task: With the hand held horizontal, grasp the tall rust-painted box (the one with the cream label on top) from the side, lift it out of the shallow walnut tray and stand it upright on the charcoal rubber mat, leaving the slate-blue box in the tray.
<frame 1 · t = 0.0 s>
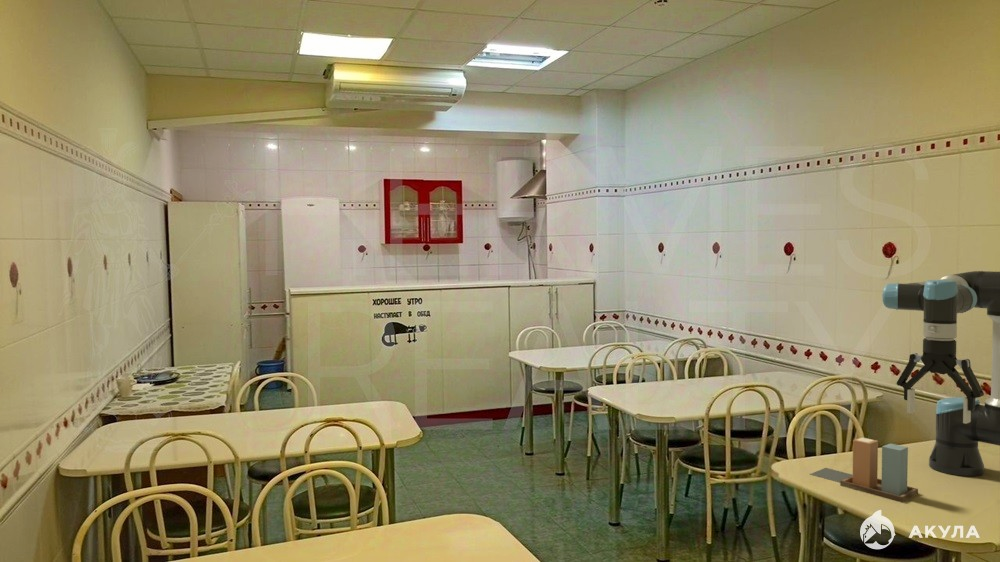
hand: (937, 417, 187), 28 cm above the table, tool pointing down, fingers open, 13 cm apart
rust box: (864, 485, 213), point 1 cm above the table, touching tray
tray: (878, 491, 210), on the table
mat: (832, 476, 223), on the table
slate box: (894, 493, 206), point 1 cm above the table, touching tray
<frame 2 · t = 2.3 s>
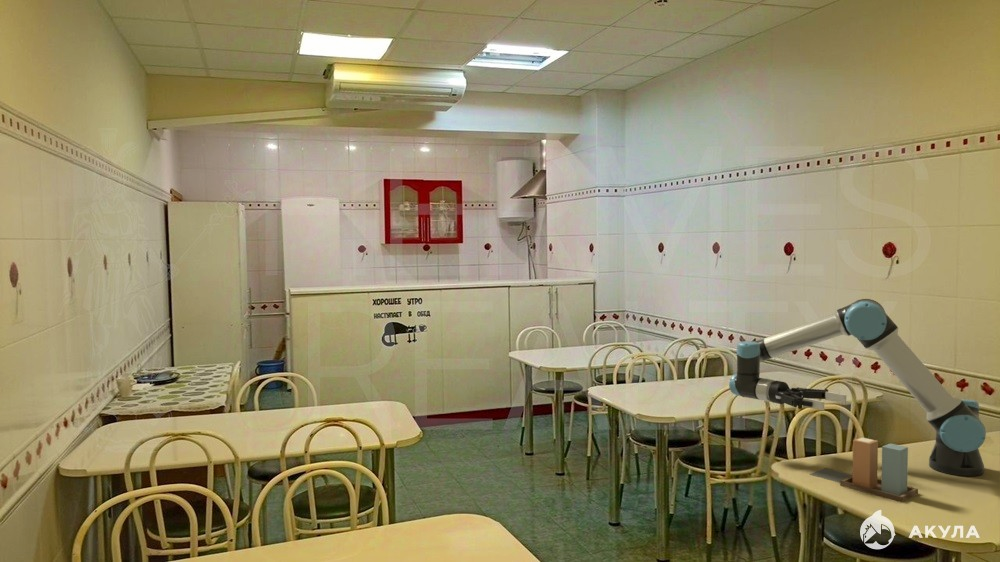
hand: (835, 402, 221), 24 cm above the table, tool horizontal, fingers open, 13 cm apart
nothing on the table moved.
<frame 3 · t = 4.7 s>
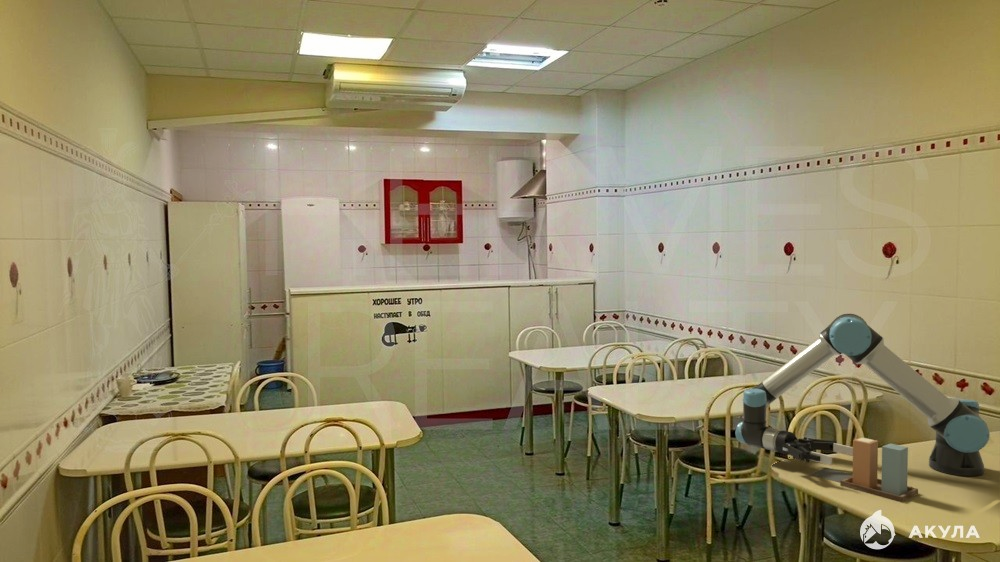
hand: (843, 456, 218), 8 cm above the table, tool horizontal, fingers open, 13 cm apart
nothing on the table moved.
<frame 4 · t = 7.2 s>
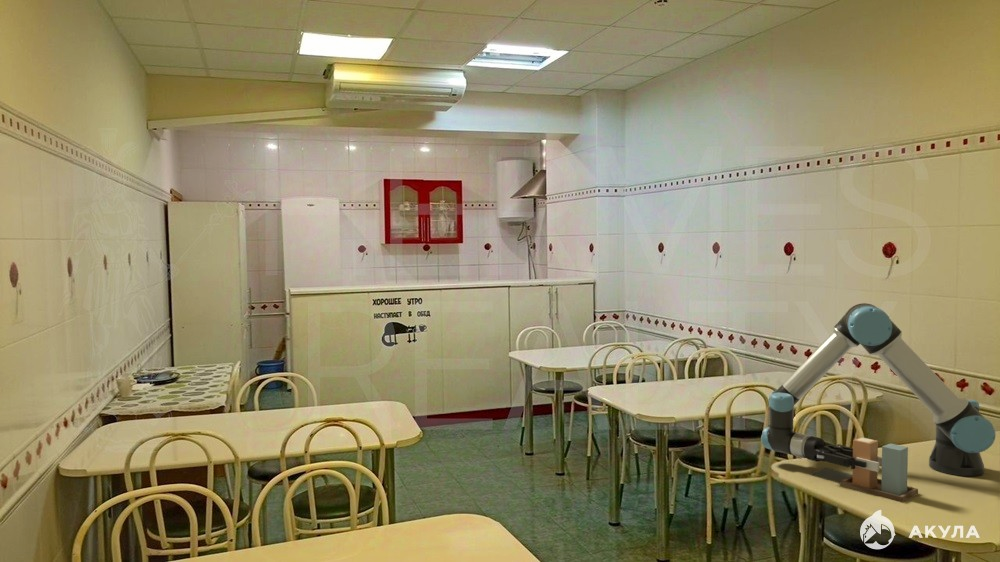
hand: (883, 465, 209), 8 cm above the table, tool horizontal, fingers closed on rust box, 5 cm apart
rust box: (864, 485, 213), point 1 cm above the table, touching gripper, tray
everything else where it was.
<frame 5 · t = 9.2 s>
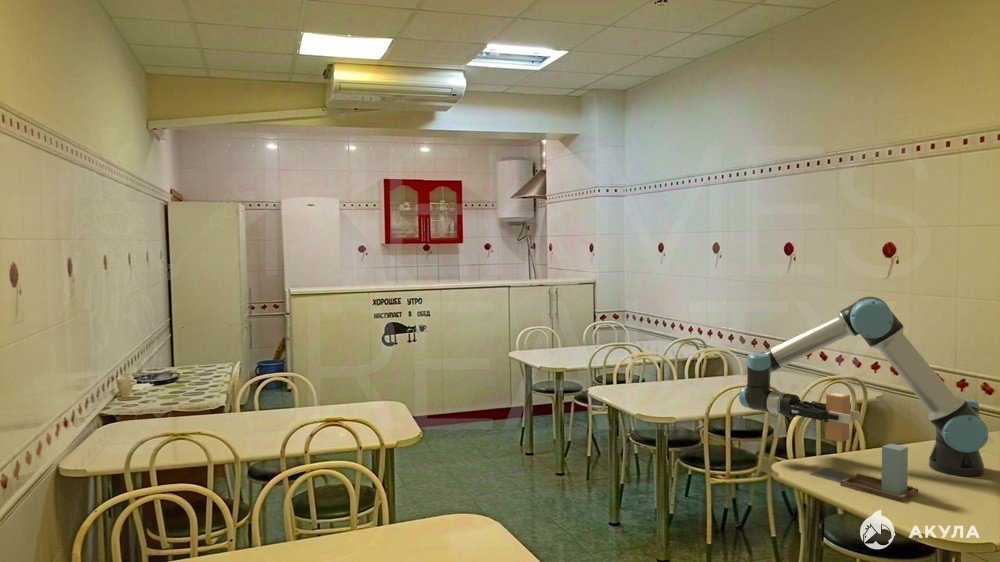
hand: (854, 418, 216), 20 cm above the table, tool horizontal, fingers closed on rust box, 5 cm apart
rust box: (837, 438, 221), point 13 cm above the table, touching gripper
everything else where it was.
when the fingers open (10 cm above the table, at t = 11.5 s): rust box drops 2 cm, resting on mat.
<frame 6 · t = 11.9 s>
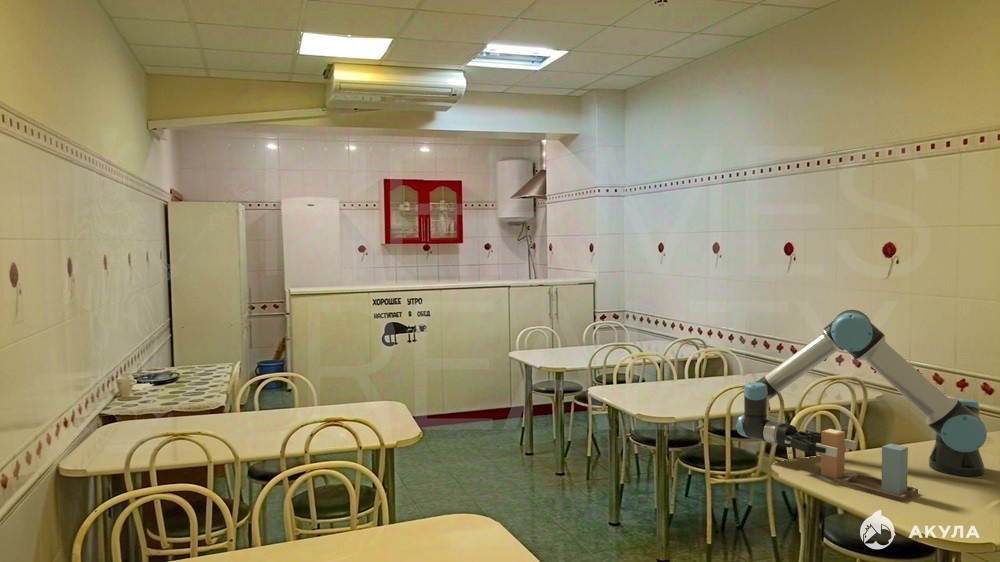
hand: (846, 449, 219), 10 cm above the table, tool horizontal, fingers open, 10 cm apart
rust box: (832, 474, 223), point 1 cm above the table, touching mat
everything else where it was.
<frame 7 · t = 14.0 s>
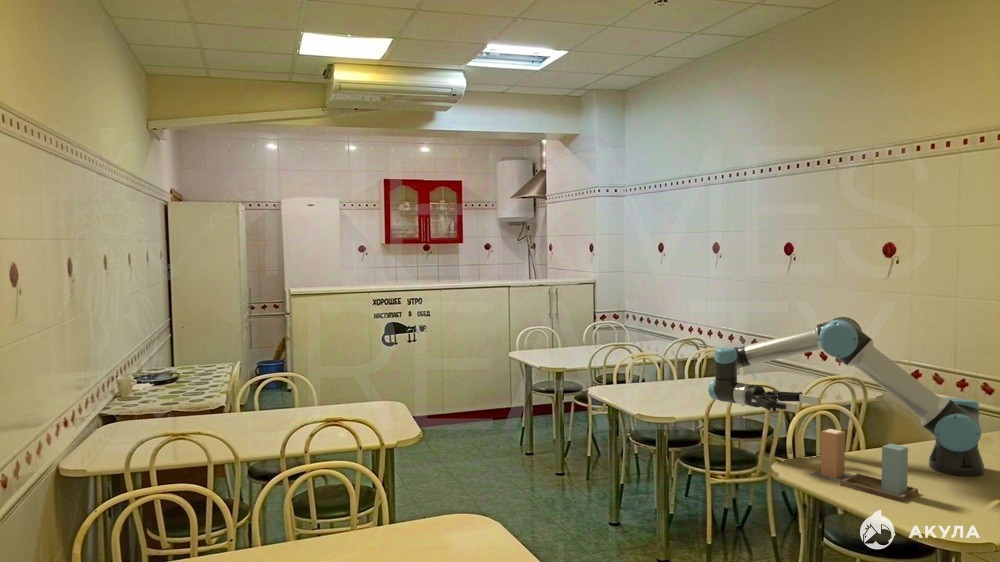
hand: (807, 404, 230), 21 cm above the table, tool horizontal, fingers open, 13 cm apart
nothing on the table moved.
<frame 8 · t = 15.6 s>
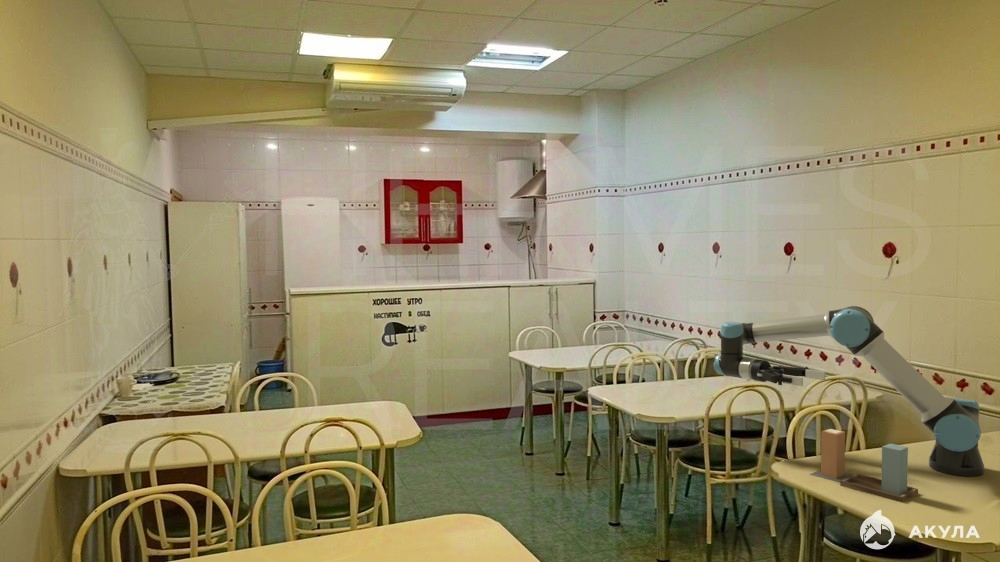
hand: (813, 379, 229), 30 cm above the table, tool horizontal, fingers open, 13 cm apart
nothing on the table moved.
at the end: rust box inside the target area on the mat (0.1 cm from its centre), point 0.6 cm above the mat's base; rust box tilted 0°; the gripper is holding nothing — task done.
